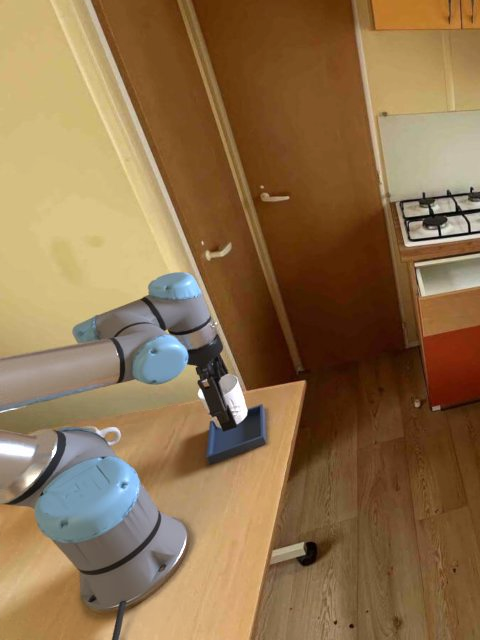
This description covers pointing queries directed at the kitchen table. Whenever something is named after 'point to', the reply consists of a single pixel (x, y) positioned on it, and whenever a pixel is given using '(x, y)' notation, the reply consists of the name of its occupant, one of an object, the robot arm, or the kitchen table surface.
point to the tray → (237, 436)
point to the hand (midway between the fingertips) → (230, 415)
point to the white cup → (229, 399)
